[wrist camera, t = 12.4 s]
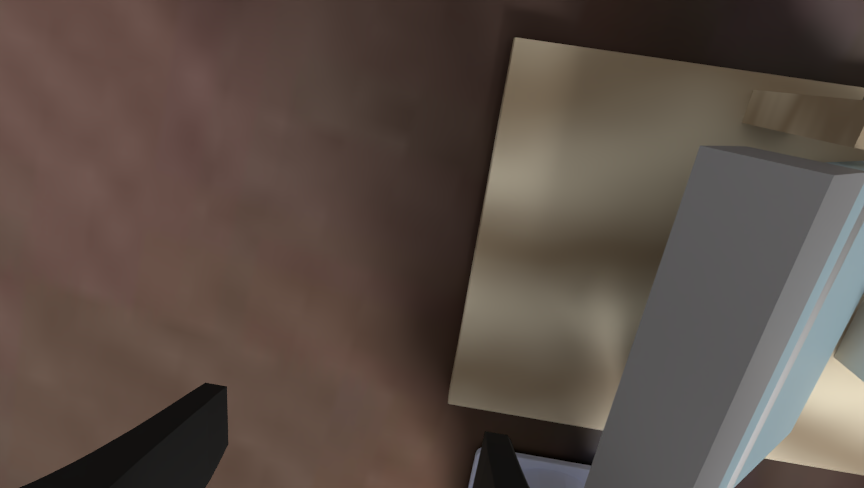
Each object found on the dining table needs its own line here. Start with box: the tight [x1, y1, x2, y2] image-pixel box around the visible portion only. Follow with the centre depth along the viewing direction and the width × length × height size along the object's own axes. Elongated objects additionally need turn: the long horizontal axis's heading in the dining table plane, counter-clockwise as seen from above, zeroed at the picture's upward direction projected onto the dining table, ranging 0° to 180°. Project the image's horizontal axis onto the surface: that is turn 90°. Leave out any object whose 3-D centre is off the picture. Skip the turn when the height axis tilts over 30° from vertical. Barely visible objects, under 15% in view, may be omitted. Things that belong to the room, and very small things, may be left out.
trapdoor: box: [584, 146, 864, 488], centre depth 17 cm, size 12×12×3 cm
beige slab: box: [448, 37, 864, 475], centre depth 18 cm, size 17×22×7 cm
